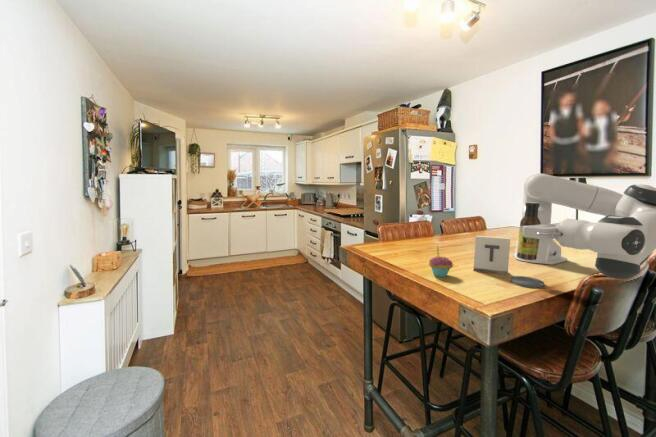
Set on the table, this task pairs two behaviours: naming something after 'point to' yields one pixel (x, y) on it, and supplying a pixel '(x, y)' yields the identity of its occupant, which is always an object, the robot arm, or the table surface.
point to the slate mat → (527, 281)
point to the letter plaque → (491, 254)
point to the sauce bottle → (527, 245)
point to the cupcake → (440, 265)
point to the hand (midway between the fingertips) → (528, 227)
